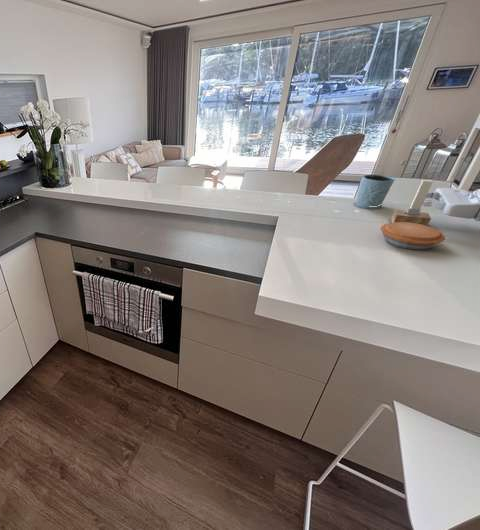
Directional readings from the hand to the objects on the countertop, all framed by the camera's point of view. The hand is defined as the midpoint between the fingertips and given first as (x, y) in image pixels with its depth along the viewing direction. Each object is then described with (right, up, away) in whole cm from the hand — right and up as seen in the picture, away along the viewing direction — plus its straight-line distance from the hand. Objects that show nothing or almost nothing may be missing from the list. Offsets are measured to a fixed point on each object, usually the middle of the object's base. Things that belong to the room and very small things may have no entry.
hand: (421, 198), depth 100 cm
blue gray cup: (+1, +2, +23) cm, 23 cm away
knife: (0, -8, +5) cm, 10 cm away
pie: (-11, -16, -6) cm, 20 cm away
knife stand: (0, -8, +5) cm, 10 cm away
